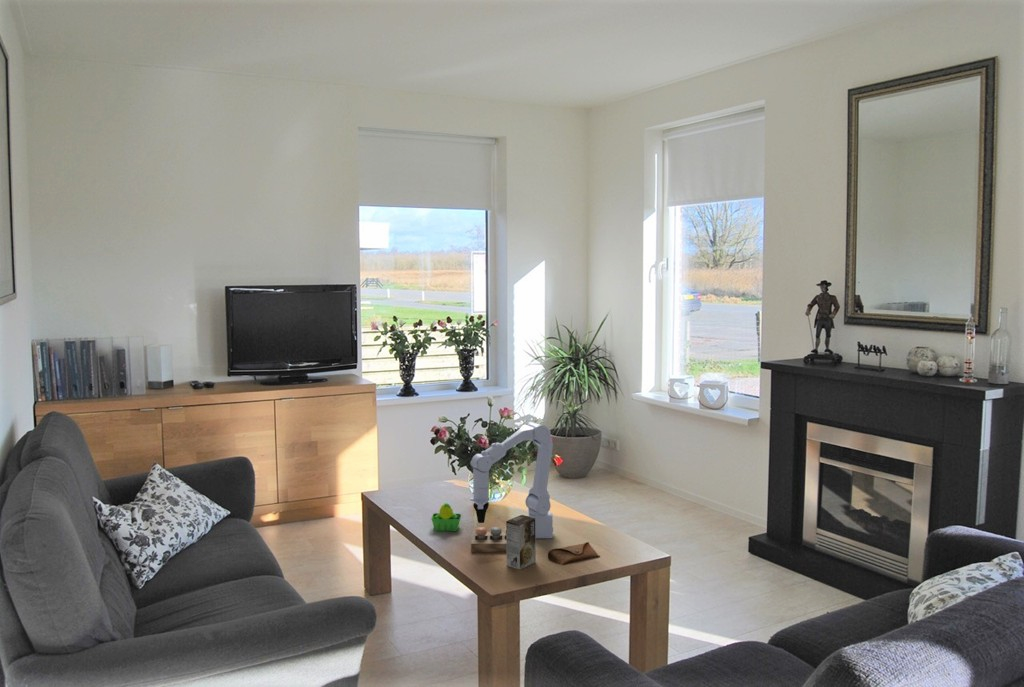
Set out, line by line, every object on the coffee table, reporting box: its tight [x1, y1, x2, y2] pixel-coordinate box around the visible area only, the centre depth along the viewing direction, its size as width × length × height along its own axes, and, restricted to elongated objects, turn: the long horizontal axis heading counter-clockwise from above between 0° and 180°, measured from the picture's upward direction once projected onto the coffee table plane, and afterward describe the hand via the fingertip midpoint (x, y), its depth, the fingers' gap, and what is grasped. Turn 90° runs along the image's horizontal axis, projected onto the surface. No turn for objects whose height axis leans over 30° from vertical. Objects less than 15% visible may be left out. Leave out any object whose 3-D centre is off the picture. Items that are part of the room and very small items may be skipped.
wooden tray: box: [470, 531, 506, 553], centre depth 302 cm, size 18×13×3 cm
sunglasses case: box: [547, 541, 601, 566], centre depth 290 cm, size 18×7×7 cm, turn 121°
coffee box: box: [505, 514, 537, 570], centre depth 282 cm, size 9×6×16 cm
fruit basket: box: [430, 502, 462, 532], centre depth 320 cm, size 11×9×11 cm
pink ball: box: [475, 526, 488, 540], centre depth 301 cm, size 4×4×4 cm
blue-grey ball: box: [490, 526, 502, 540], centre depth 301 cm, size 4×4×4 cm
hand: (481, 522), depth 301 cm, fingers closed
